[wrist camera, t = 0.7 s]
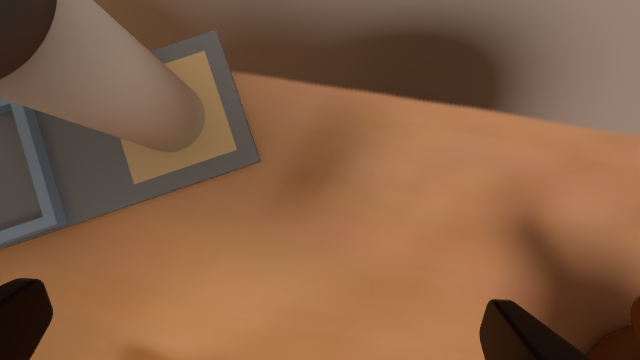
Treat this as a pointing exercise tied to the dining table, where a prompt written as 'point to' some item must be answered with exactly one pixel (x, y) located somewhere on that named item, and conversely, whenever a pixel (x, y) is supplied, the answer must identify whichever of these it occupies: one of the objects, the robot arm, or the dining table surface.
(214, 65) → the grey rectangular board
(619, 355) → the mug
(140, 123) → the white grey banded cylinder
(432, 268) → the dining table surface
